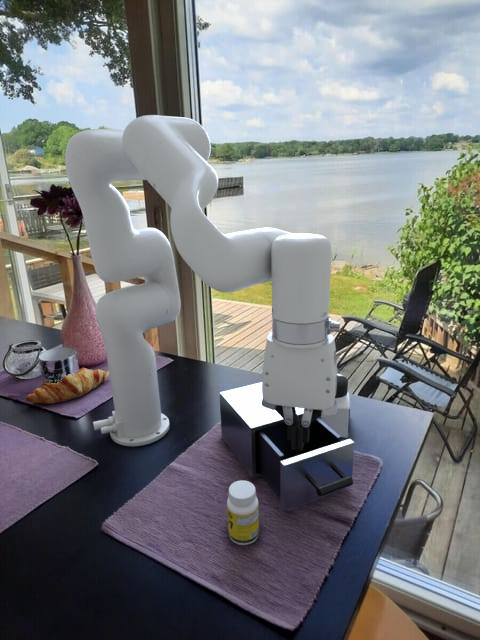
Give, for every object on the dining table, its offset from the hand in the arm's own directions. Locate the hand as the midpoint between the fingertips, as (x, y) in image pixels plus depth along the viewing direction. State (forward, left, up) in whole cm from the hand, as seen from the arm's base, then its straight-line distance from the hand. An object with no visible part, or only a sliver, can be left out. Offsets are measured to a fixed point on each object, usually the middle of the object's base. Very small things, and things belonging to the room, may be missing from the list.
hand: (298, 444), depth 65 cm
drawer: (+5, +6, -13) cm, 16 cm away
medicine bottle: (+20, +19, -14) cm, 32 cm away
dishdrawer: (+5, +19, -14) cm, 25 cm away
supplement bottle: (-9, +1, -14) cm, 17 cm away
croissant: (-29, +62, -14) cm, 70 cm away
